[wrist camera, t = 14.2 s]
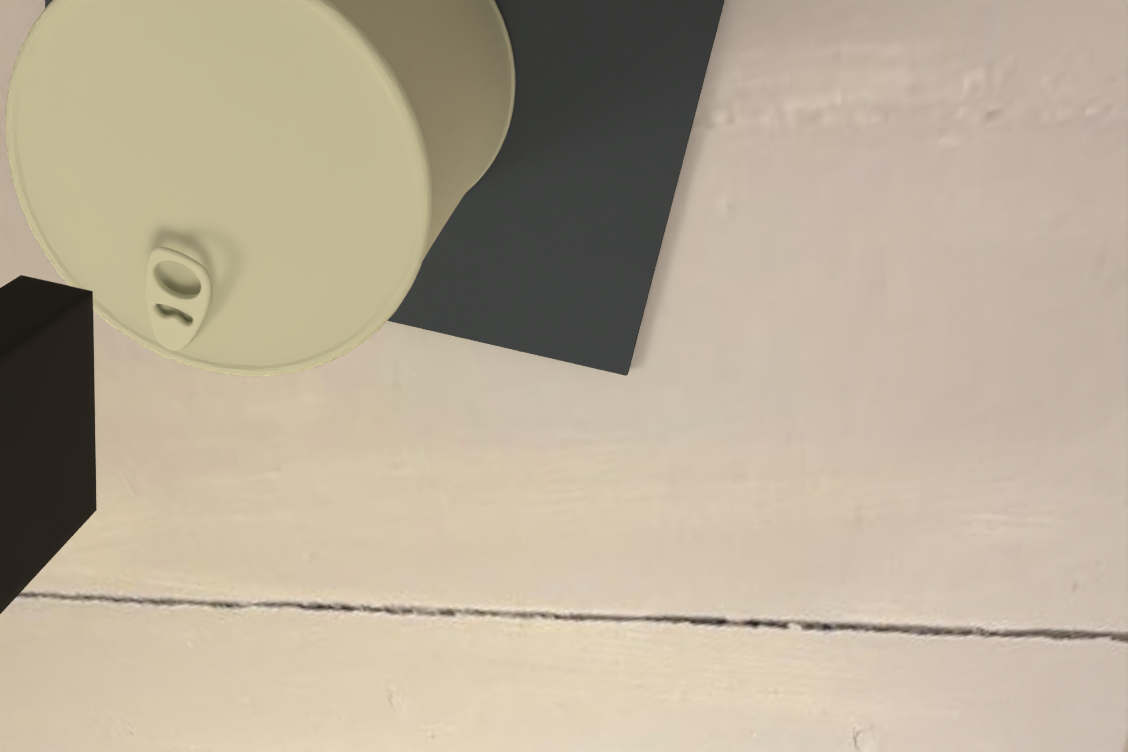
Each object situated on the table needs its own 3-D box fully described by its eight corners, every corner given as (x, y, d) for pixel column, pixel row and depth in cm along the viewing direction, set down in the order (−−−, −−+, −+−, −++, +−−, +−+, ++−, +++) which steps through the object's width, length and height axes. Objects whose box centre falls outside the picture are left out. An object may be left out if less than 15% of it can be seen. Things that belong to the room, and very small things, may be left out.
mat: (759, -140, 29) (760, -140, 29) (627, 371, 37) (627, 376, 36) (45, -303, 29) (37, -305, 29) (56, 239, 37) (50, 243, 36)
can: (186, 148, 34) (-43, 288, 24) (262, -147, 30) (26, -140, 19) (454, 265, 35) (349, 451, 24) (564, -8, 31) (495, 73, 20)
